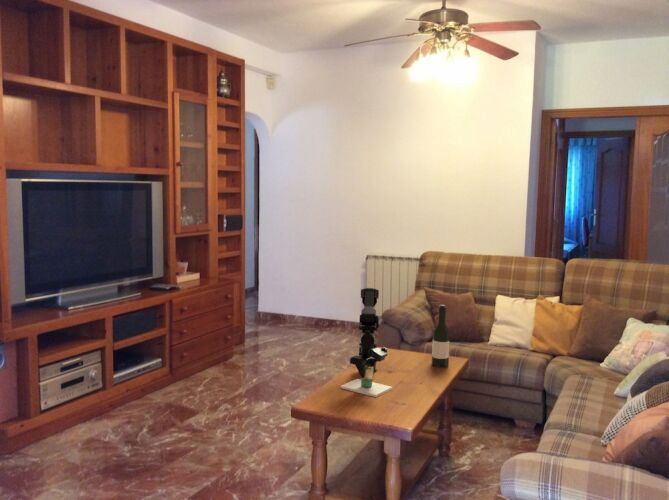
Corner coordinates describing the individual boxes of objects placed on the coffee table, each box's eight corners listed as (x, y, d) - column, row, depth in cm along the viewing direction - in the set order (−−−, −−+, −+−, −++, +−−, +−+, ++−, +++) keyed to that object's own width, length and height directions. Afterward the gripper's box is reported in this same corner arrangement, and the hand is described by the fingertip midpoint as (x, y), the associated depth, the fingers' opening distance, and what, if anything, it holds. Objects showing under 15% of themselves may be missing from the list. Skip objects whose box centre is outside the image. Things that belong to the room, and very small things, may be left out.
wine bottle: (449, 363, 307) (452, 304, 304) (447, 368, 300) (449, 307, 296) (433, 361, 310) (435, 302, 307) (430, 366, 302) (432, 305, 299)
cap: (361, 375, 270) (362, 363, 269) (374, 376, 269) (374, 365, 268) (359, 378, 265) (359, 367, 264) (371, 380, 263) (372, 368, 263)
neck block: (340, 388, 267) (341, 376, 267) (357, 380, 278) (357, 369, 277) (376, 397, 257) (376, 385, 256) (392, 389, 267) (392, 378, 267)
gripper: (371, 349, 253) (370, 385, 254) (395, 340, 268) (393, 374, 269) (349, 344, 259) (348, 380, 261) (373, 335, 274) (372, 369, 276)
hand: (366, 376), depth 267 cm, fingers open, 6 cm apart
